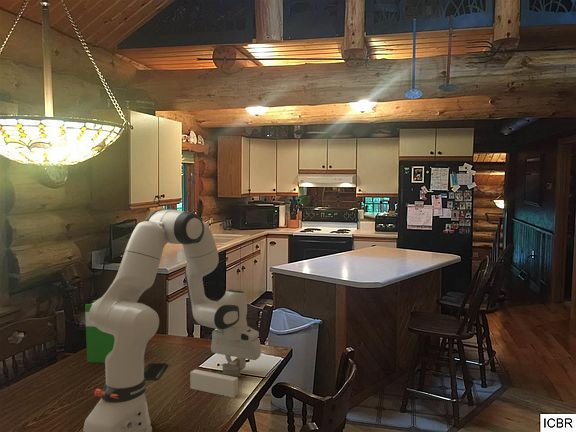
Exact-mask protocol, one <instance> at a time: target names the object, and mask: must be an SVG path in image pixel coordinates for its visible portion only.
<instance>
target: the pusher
mask: <svg viewBox="0 0 576 432" xmlns="http://www.w3.org/2000/svg"><path fill="white" fill-rule="evenodd" d="M240 361H241V360H240V358H239V357H235V359H233V360H232V362H230V363H229V364H228V363H223V364H222V375H227V376H232V377H237V378H239V377H240V376H241V371H242V370H244V369H245V368H246V367H247V366H246V365H247V360H246V359H245V361H244V362H243V368H241V369H240V366H237V364H238V363H239V362H240Z"/></svg>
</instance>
